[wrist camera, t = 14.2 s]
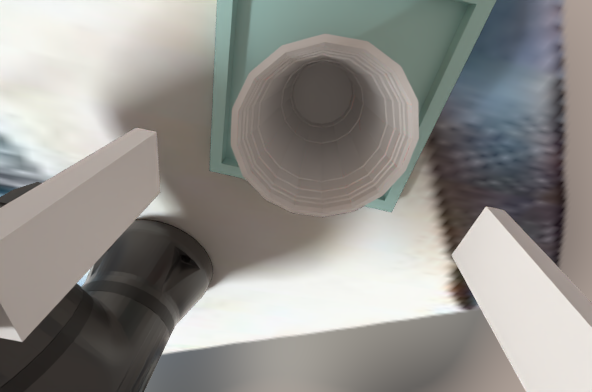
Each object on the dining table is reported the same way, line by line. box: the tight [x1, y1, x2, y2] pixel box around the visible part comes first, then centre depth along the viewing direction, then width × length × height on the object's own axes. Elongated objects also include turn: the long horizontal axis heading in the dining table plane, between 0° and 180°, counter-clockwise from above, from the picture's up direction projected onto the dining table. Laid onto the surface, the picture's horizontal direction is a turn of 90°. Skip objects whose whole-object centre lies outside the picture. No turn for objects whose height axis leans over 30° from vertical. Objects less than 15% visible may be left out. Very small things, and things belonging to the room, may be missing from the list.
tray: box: [209, 0, 496, 212], centre depth 26 cm, size 20×20×2 cm
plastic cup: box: [231, 34, 419, 217], centre depth 21 cm, size 11×11×12 cm
